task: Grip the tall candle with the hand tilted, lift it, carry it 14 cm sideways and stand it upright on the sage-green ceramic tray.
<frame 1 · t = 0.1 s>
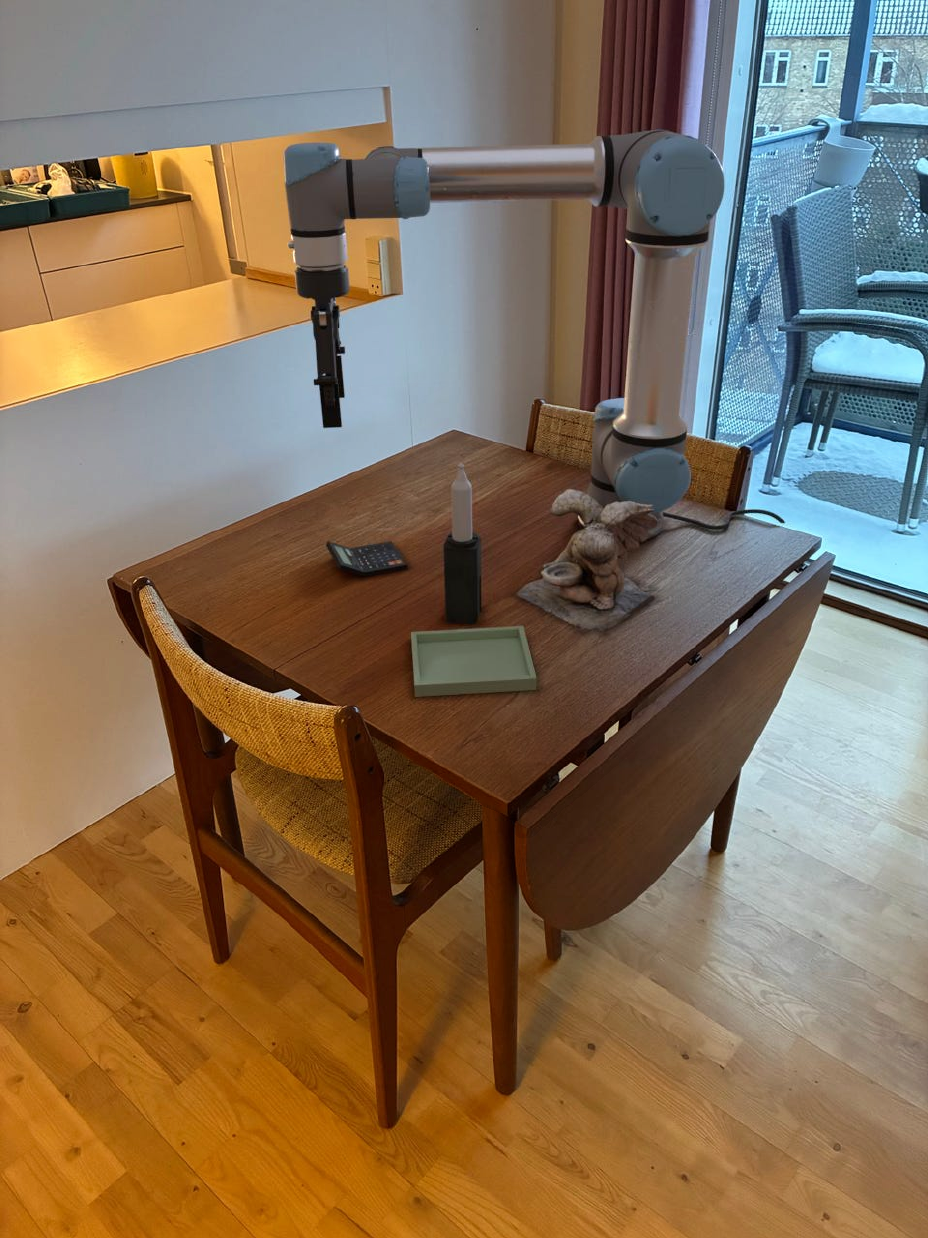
hand: (334, 411, 146), 28 cm above the table, tool pointing down, fingers open, 13 cm apart
cherub figurine: (586, 596, 153), on the table
calculator: (366, 563, 164), on the table
candle: (463, 616, 149), on the table
tray: (471, 665, 137), on the table
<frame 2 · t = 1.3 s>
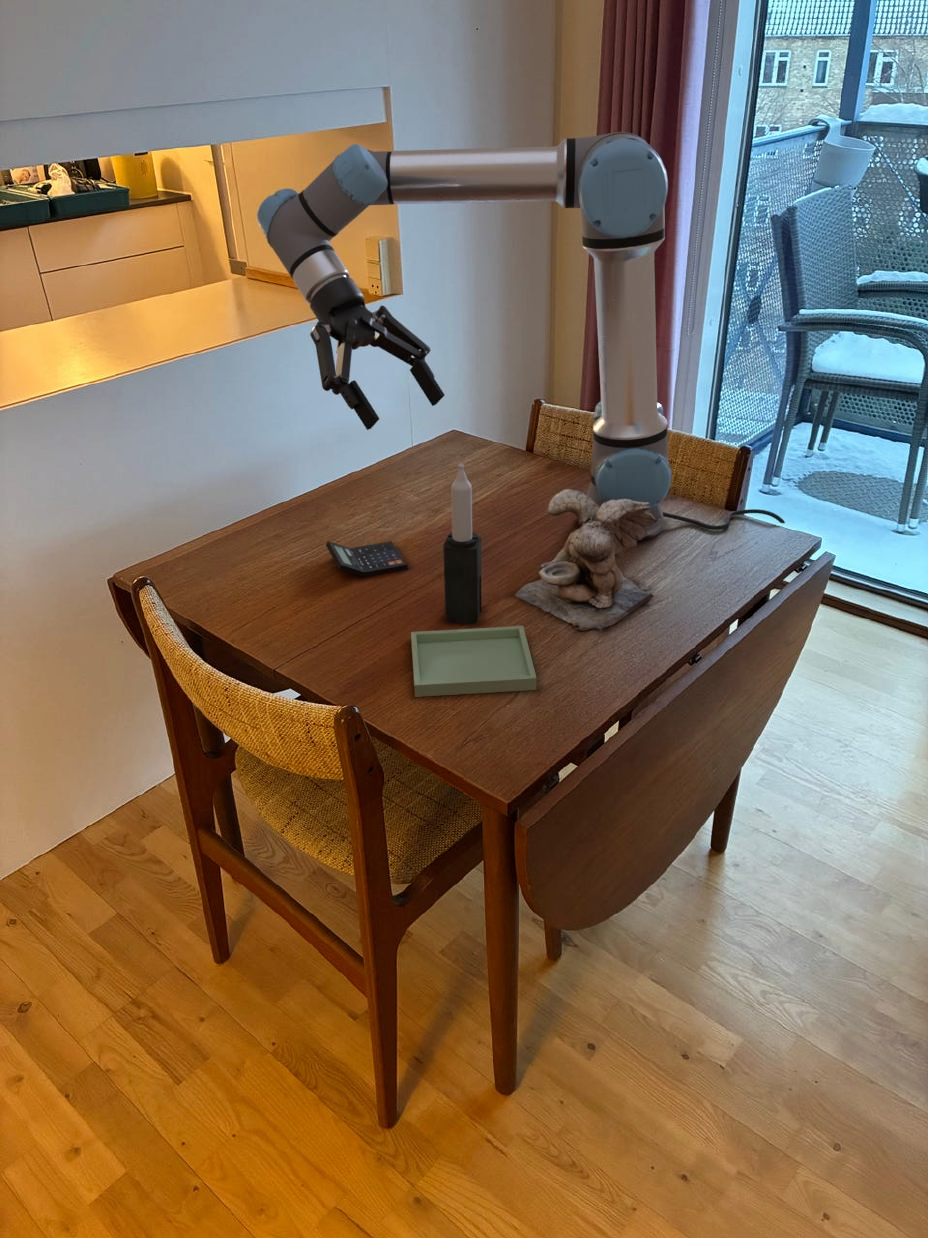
hand: (407, 412, 140), 30 cm above the table, tool tilted 45°, fingers open, 13 cm apart
cherub figurine: (585, 596, 153), on the table, touching arm
everything else where it was.
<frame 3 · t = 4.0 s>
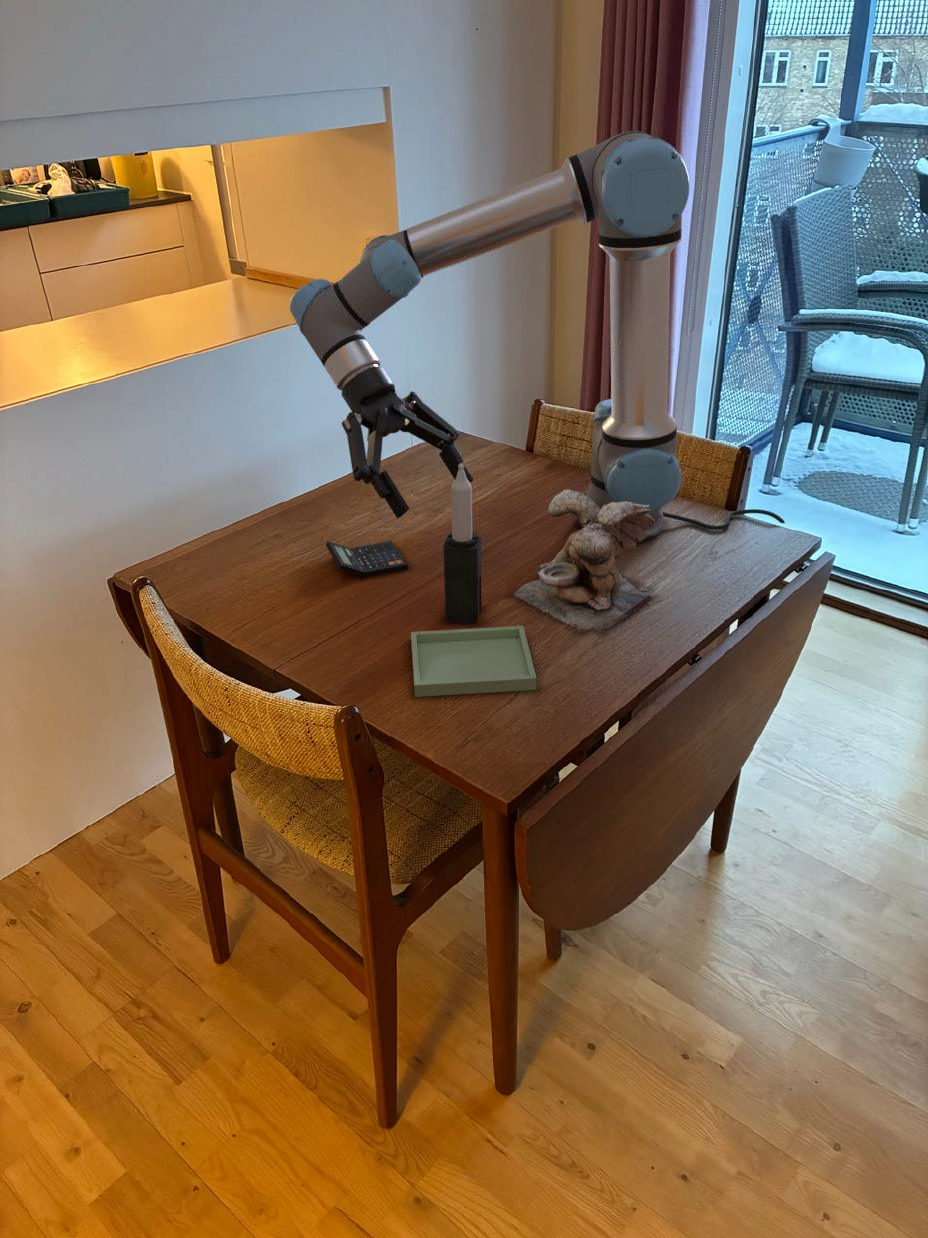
hand: (436, 499, 142), 18 cm above the table, tool tilted 45°, fingers open, 13 cm apart
cherub figurine: (583, 597, 153), on the table
everything else where it was.
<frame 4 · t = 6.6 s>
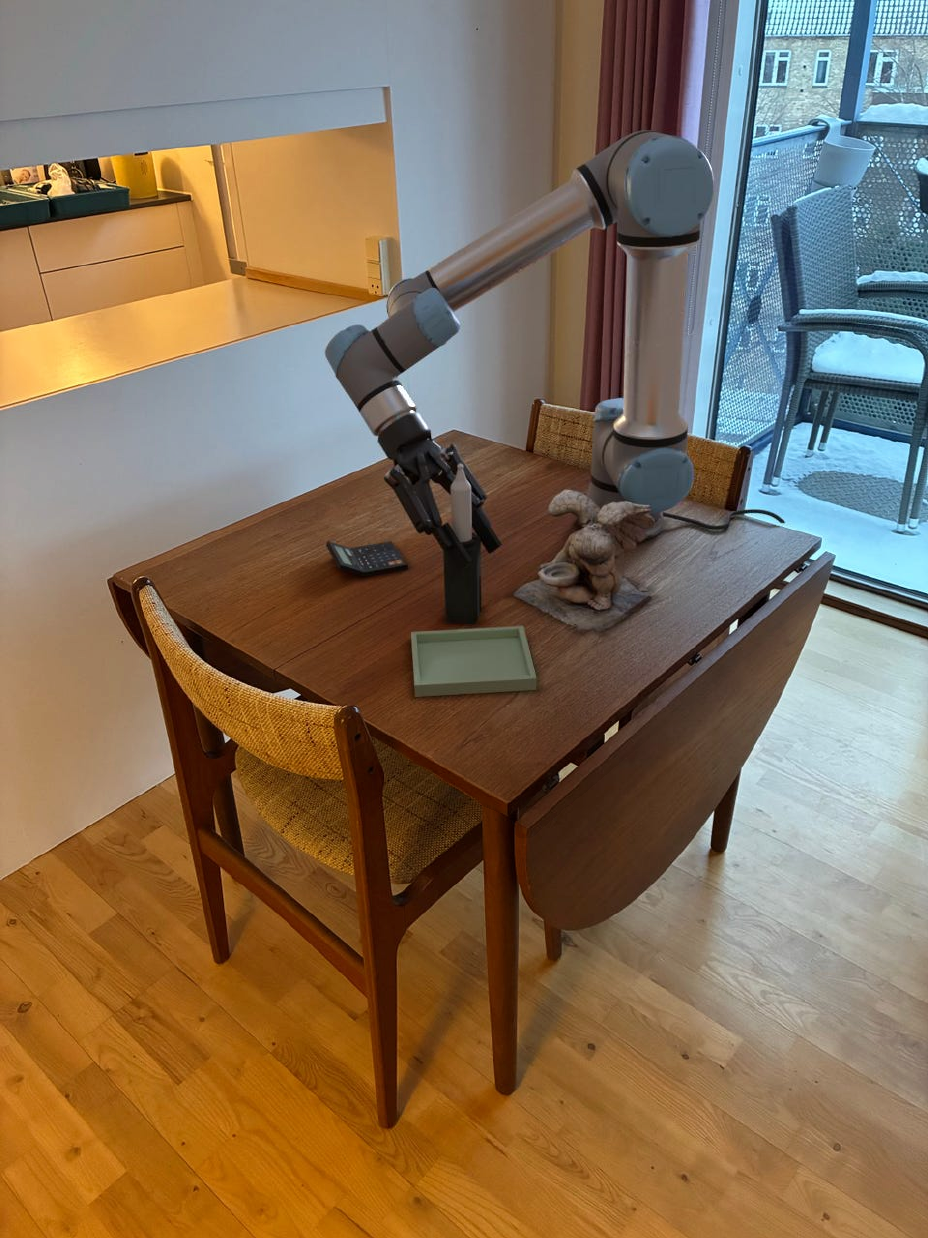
hand: (480, 556, 141), 11 cm above the table, tool tilted 45°, fingers closed on candle, 6 cm apart
candle: (463, 616, 149), on the table, touching gripper
everything else where it was.
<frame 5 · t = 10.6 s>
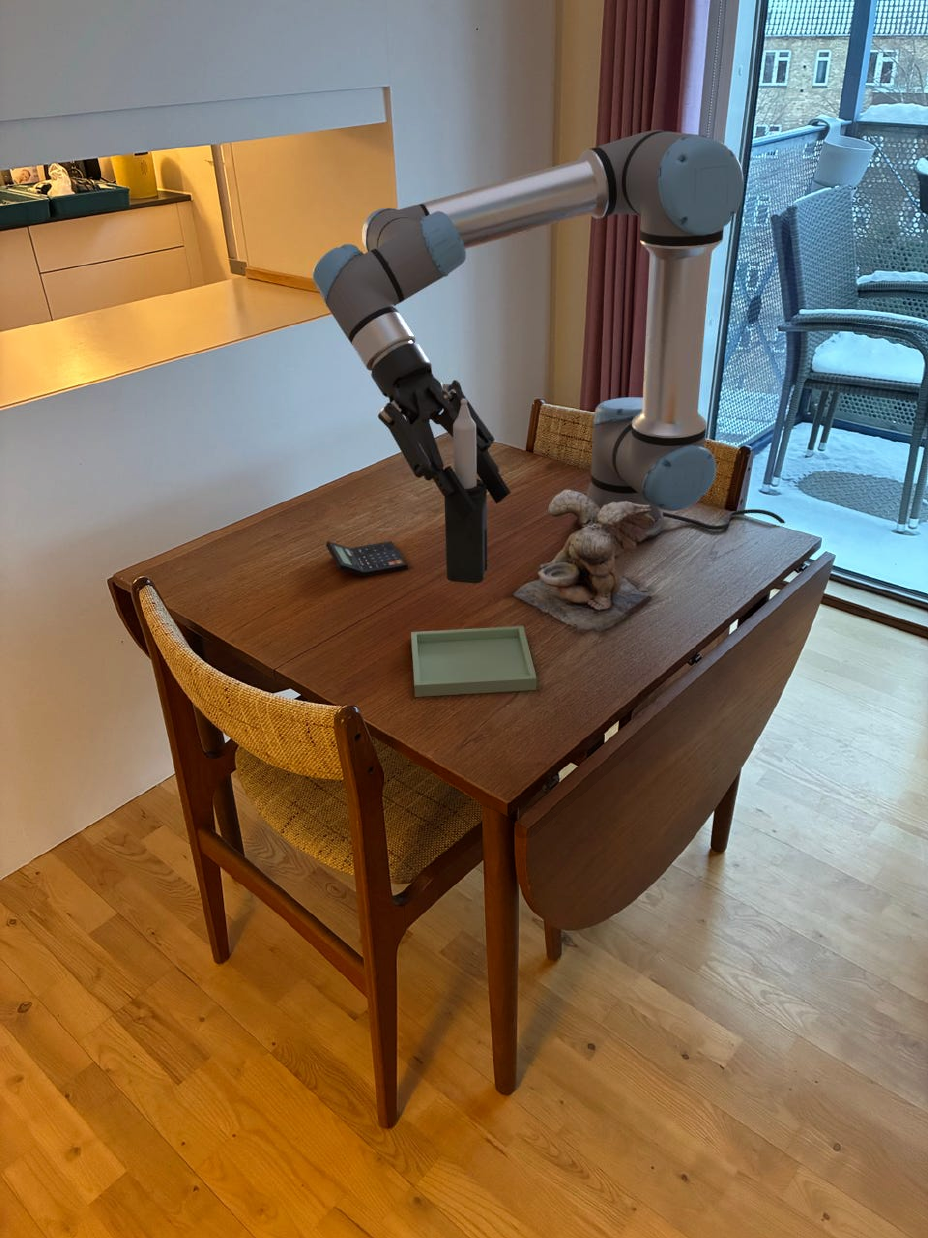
hand: (486, 505, 125), 24 cm above the table, tool tilted 45°, fingers closed on candle, 6 cm apart
candle: (467, 574, 133), point 13 cm above the table, touching gripper
everything else where it was.
when the fingers open (12 cm above the table, at t = 14.6 s): candle stays where it is, resting on tray.
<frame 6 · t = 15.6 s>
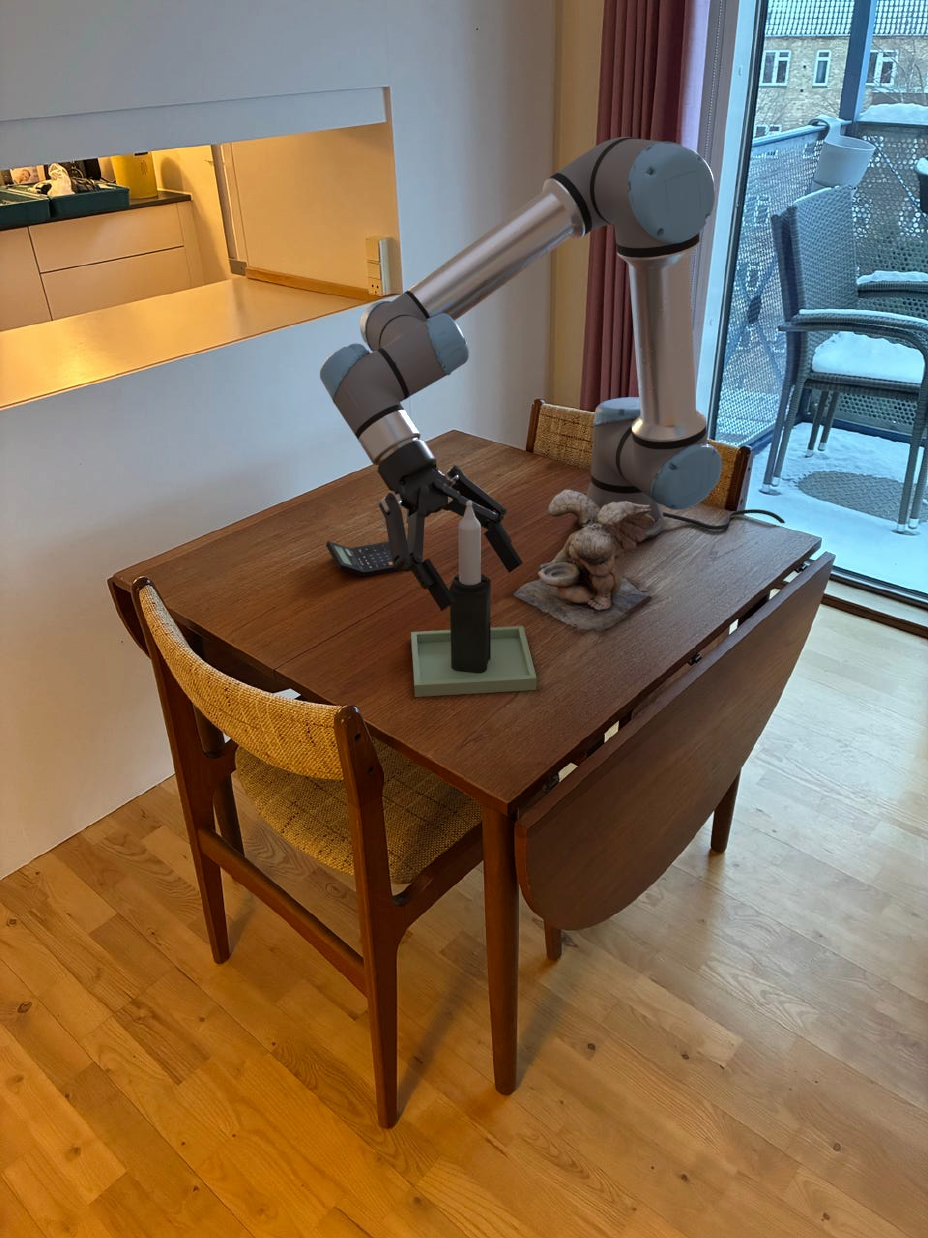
hand: (483, 586, 128), 14 cm above the table, tool tilted 45°, fingers open, 13 cm apart
candle: (471, 663, 137), resting on tray
everything else where it was.
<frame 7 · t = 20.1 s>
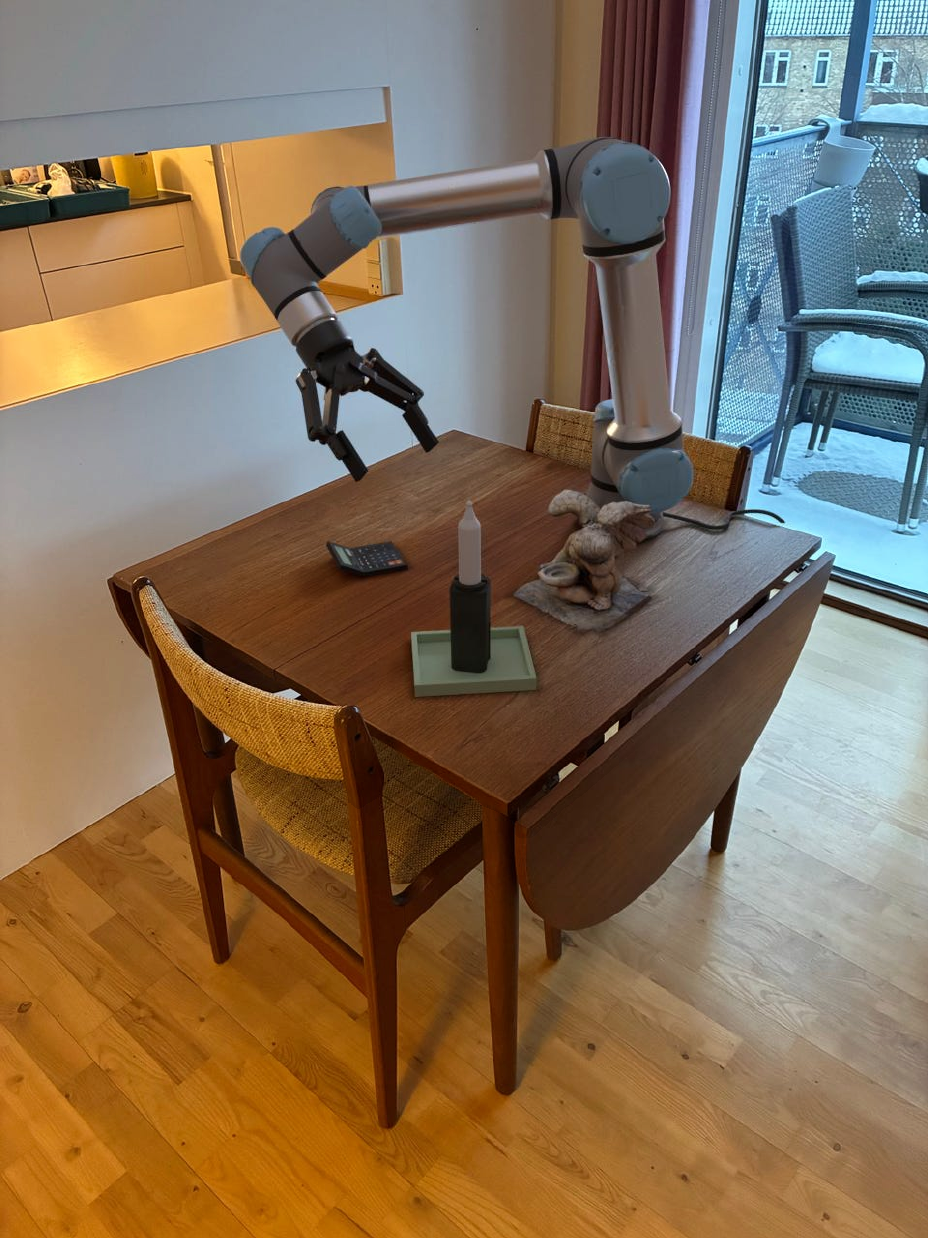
hand: (398, 461, 133), 26 cm above the table, tool tilted 45°, fingers open, 13 cm apart
nothing on the table moved.
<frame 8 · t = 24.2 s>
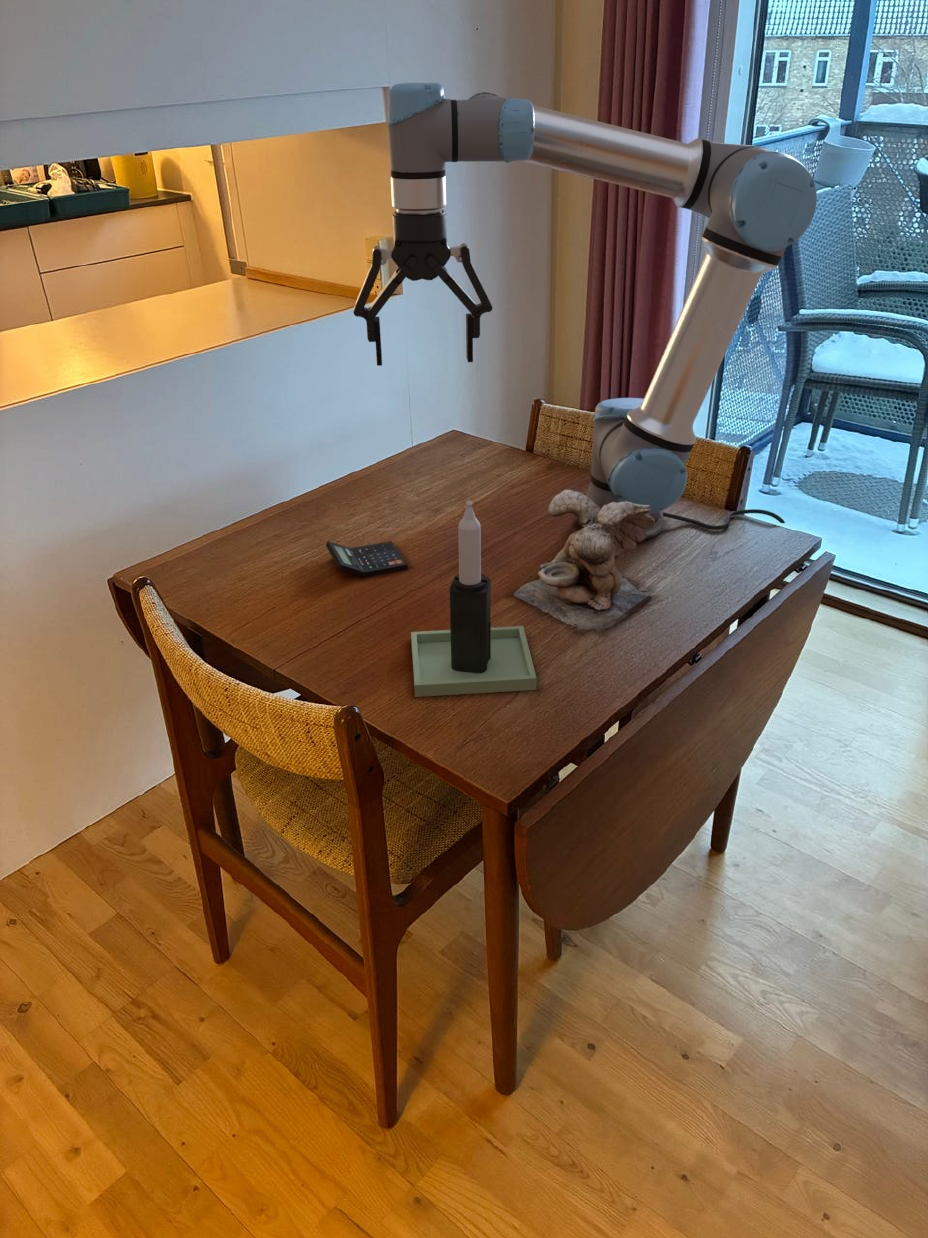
hand: (424, 361, 145), 35 cm above the table, tool pointing down, fingers open, 13 cm apart
nothing on the table moved.
at the end: candle inside the target area in the tray (0.1 cm from its centre), point 0.3 cm above the tray's base; candle tilted 0°; the gripper is holding nothing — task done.
